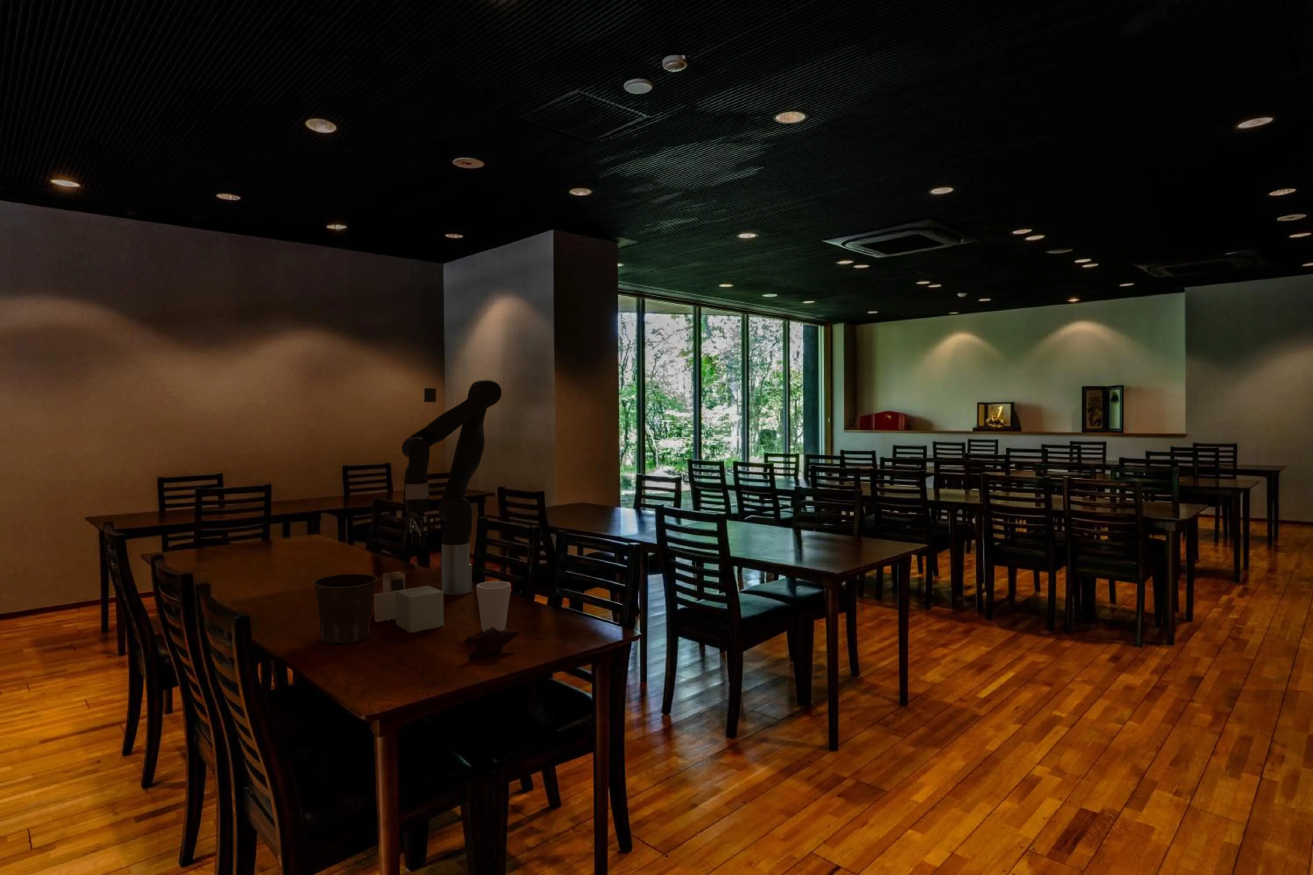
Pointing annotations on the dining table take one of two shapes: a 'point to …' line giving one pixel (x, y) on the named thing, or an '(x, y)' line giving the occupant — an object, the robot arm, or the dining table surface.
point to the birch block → (393, 581)
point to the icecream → (489, 642)
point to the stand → (419, 608)
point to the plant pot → (345, 607)
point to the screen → (385, 606)
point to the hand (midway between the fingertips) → (419, 546)
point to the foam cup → (493, 604)
